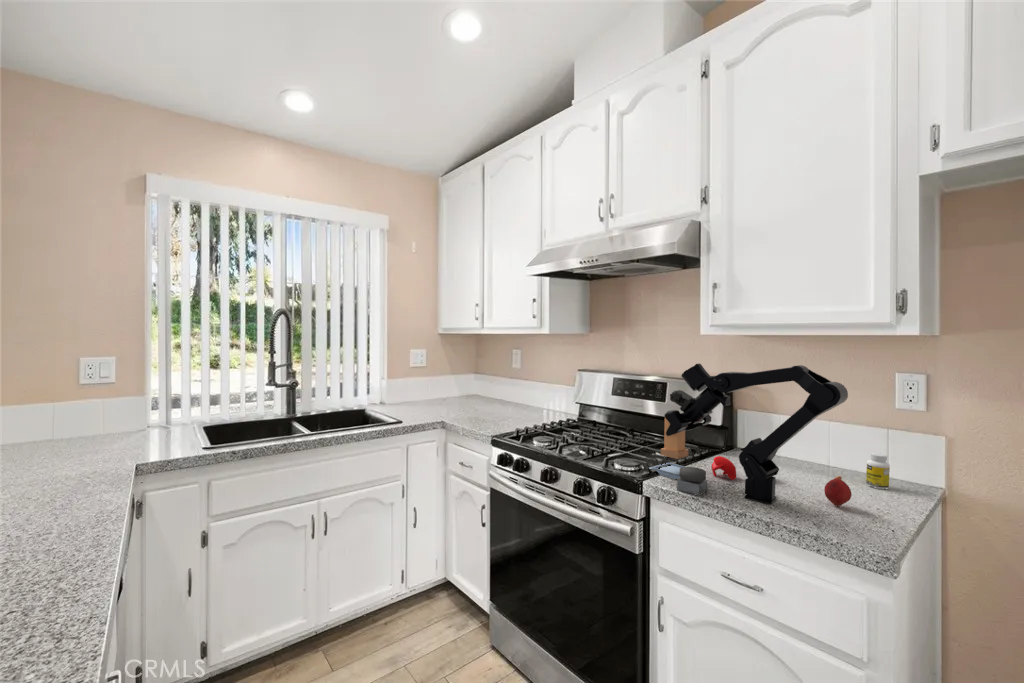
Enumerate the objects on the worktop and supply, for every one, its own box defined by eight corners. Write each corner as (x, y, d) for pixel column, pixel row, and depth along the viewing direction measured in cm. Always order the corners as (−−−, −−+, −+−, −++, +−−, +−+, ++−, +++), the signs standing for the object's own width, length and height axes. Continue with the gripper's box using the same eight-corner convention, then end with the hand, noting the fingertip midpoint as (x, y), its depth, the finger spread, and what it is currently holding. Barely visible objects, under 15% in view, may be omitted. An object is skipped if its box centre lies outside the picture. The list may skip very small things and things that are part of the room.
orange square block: (688, 455, 147) (688, 414, 146) (678, 458, 143) (678, 416, 143) (671, 452, 151) (671, 412, 151) (660, 454, 147) (661, 413, 147)
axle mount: (707, 490, 133) (707, 479, 133) (698, 495, 129) (699, 484, 129) (685, 484, 138) (686, 474, 137) (676, 489, 133) (677, 479, 133)
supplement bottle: (861, 484, 141) (862, 452, 141) (874, 483, 143) (875, 451, 143) (880, 490, 136) (881, 457, 136) (893, 489, 138) (894, 456, 138)
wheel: (709, 488, 133) (709, 470, 133) (699, 494, 128) (700, 475, 128) (685, 482, 138) (685, 465, 138) (675, 487, 133) (675, 470, 133)
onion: (838, 511, 120) (839, 480, 119) (818, 502, 125) (819, 473, 125) (856, 509, 121) (857, 478, 121) (835, 501, 127) (836, 471, 126)
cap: (704, 464, 148) (717, 458, 143) (714, 455, 151) (727, 450, 146) (720, 486, 146) (733, 482, 141) (730, 477, 149) (744, 472, 144)
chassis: (699, 475, 147) (699, 470, 147) (681, 481, 141) (681, 476, 141) (666, 465, 157) (666, 461, 156) (648, 470, 150) (648, 466, 150)
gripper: (702, 380, 150) (671, 410, 158) (670, 384, 138) (638, 416, 146) (726, 408, 144) (692, 437, 152) (695, 414, 132) (660, 446, 140)
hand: (670, 433), depth 148 cm, fingers closed on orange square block, 4 cm apart
